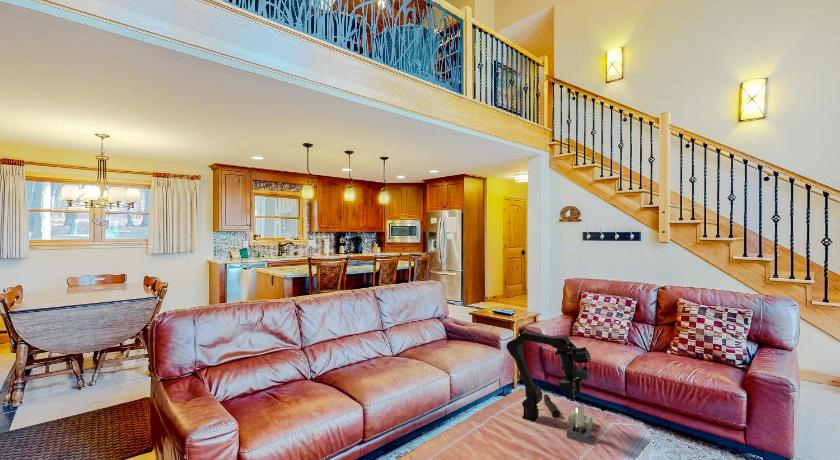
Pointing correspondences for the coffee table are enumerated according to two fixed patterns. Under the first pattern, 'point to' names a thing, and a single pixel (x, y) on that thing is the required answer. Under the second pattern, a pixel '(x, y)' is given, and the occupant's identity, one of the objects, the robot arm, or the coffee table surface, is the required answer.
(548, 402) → the hand tool
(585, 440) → the socket
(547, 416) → the coffee table surface
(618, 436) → the coffee table surface
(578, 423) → the grey cylinder
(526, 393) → the robot arm
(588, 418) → the container
